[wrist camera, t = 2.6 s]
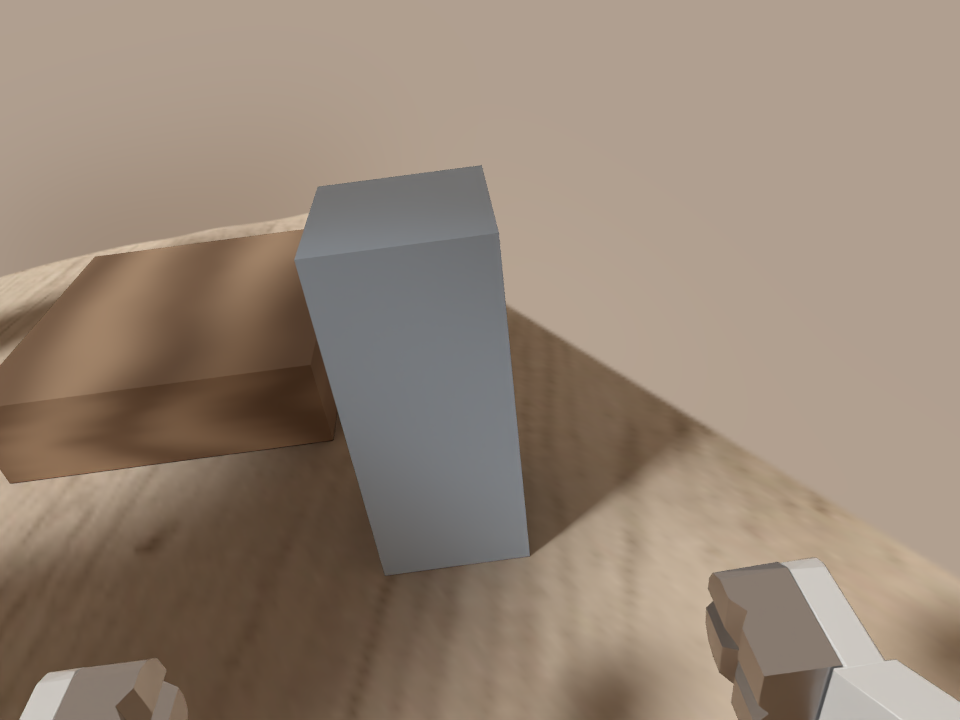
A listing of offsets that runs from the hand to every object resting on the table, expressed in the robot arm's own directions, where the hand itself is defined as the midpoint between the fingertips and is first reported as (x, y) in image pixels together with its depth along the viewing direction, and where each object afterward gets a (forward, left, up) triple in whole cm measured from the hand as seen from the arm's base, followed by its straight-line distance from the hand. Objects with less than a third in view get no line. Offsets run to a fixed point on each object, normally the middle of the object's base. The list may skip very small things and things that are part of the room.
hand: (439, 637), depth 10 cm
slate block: (0, +12, -10) cm, 15 cm away
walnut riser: (-12, +24, -10) cm, 29 cm away
